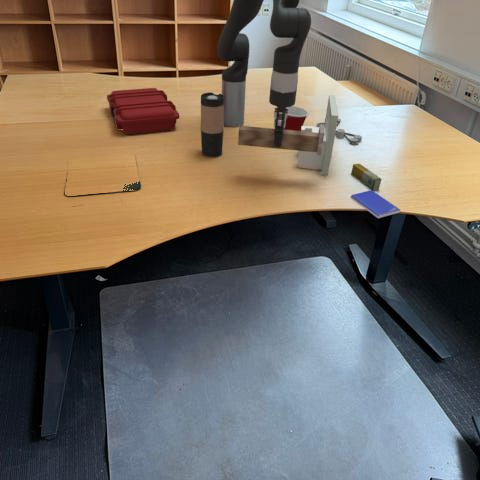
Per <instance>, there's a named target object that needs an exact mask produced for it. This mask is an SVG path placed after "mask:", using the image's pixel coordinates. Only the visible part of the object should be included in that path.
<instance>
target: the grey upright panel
mask: <svg viewBox="0 0 480 480" xmlns="http://www.w3.org/2000/svg"><path fill="white" fill-rule="evenodd" d="M338 110H339V109H338V104H337V99H336V94H329V95H328V100H327V107H326V113H325V118H324V123H325V124H324V133H325V134H324V140H323V146H322V152H321V156H319V155H317V152H307V151H297V152H298V153H297V157H298V158H297V168H299V169H300V168H302V169H310V170H311V169H313V170H319V171H321V176H329V172H330V165H331V160H332V154H333V150H334V143H335V138H336V135H335V132H336V131H337V127H338V126H337V124H338V123H337V121H338V119H339V112H338ZM301 131H304V132H315V133H319V127H316V126H311V125H309V126H308V125H303V126H301Z"/></svg>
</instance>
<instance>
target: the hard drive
mask: <svg viewBox="0 0 480 480" xmlns="http://www.w3.org/2000/svg"><path fill="white" fill-rule="evenodd" d="M350 198H351V199H352V200H353V201H355V203H357V204H358V205H359V206H361V207H362V208H364V209H365V210H366V211H367V212H369V213H370V214H372V215H373V216H374V217H375V218H377V219H381V218H384V217H388V216H392V215H395V214H399V213H401V209H400V208H398V207H397V206H396V205H394V204H392V202H390V201H389V200H387V199H386V198H385V197H383V196H382V195H379V194H378V193H377V192H376V191H372V190H370V189H369V190H366V191H362V192H359V193H358V192H357V193H354V194H351V195H350Z"/></svg>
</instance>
